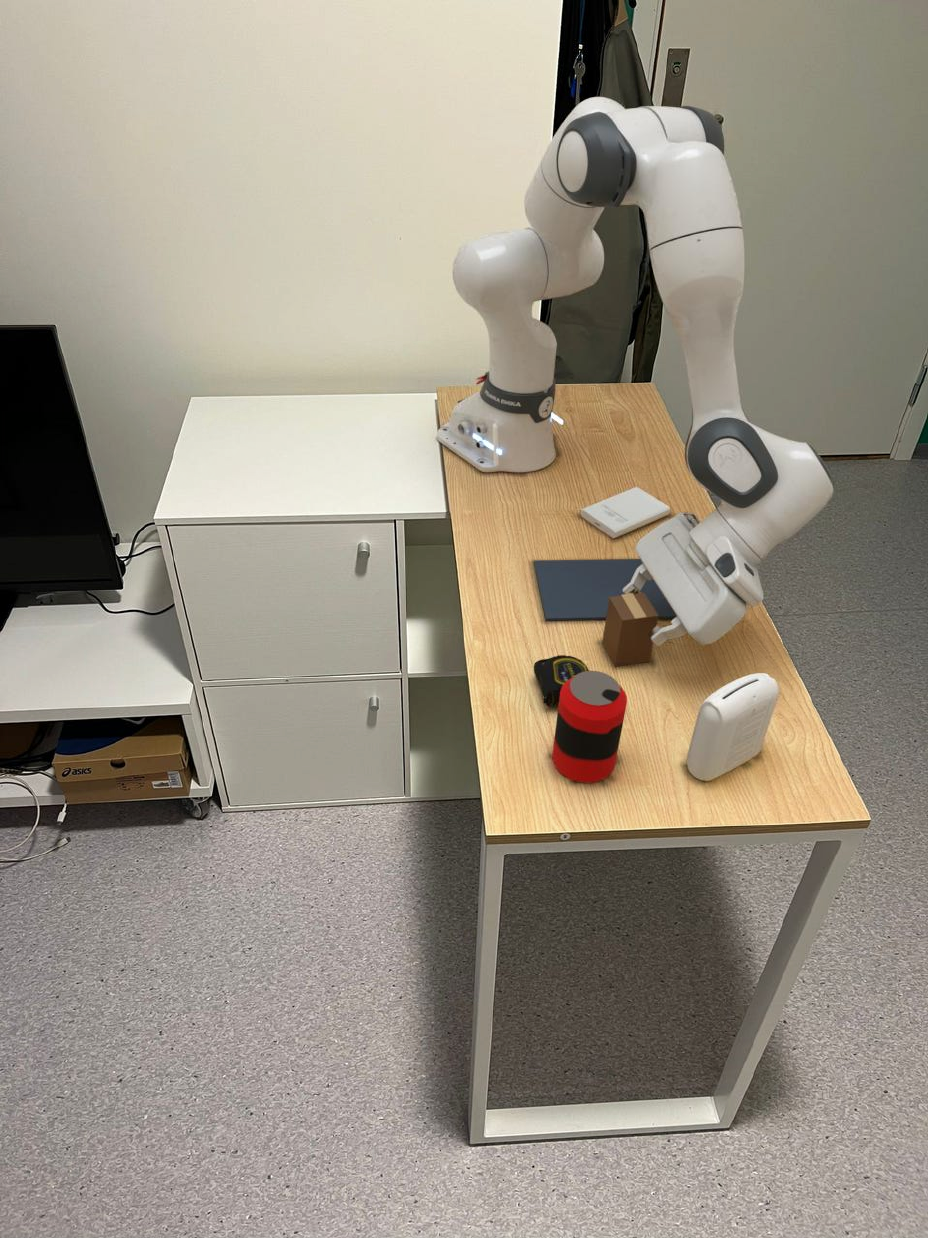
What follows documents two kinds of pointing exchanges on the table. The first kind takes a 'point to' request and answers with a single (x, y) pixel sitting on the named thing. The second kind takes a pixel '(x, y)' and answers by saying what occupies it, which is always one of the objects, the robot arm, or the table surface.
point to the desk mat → (590, 588)
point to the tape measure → (556, 675)
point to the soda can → (588, 726)
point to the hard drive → (625, 512)
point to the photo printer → (732, 726)
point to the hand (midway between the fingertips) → (639, 617)
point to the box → (629, 629)
